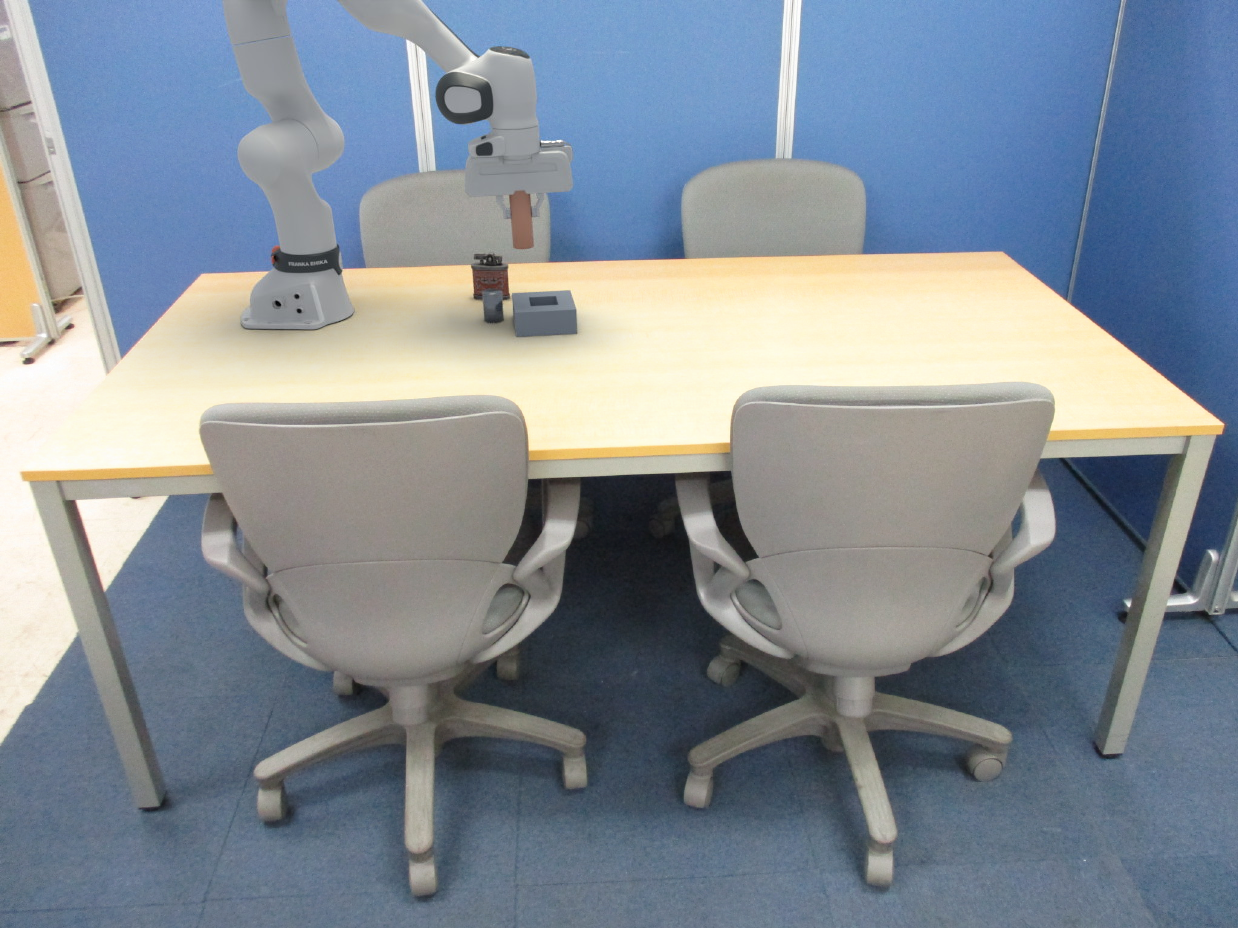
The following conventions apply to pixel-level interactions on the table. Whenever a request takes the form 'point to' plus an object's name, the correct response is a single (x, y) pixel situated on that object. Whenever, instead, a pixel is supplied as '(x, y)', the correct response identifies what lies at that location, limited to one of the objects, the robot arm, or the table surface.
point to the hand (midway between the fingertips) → (521, 217)
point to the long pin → (521, 220)
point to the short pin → (493, 305)
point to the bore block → (544, 313)
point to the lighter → (490, 275)
